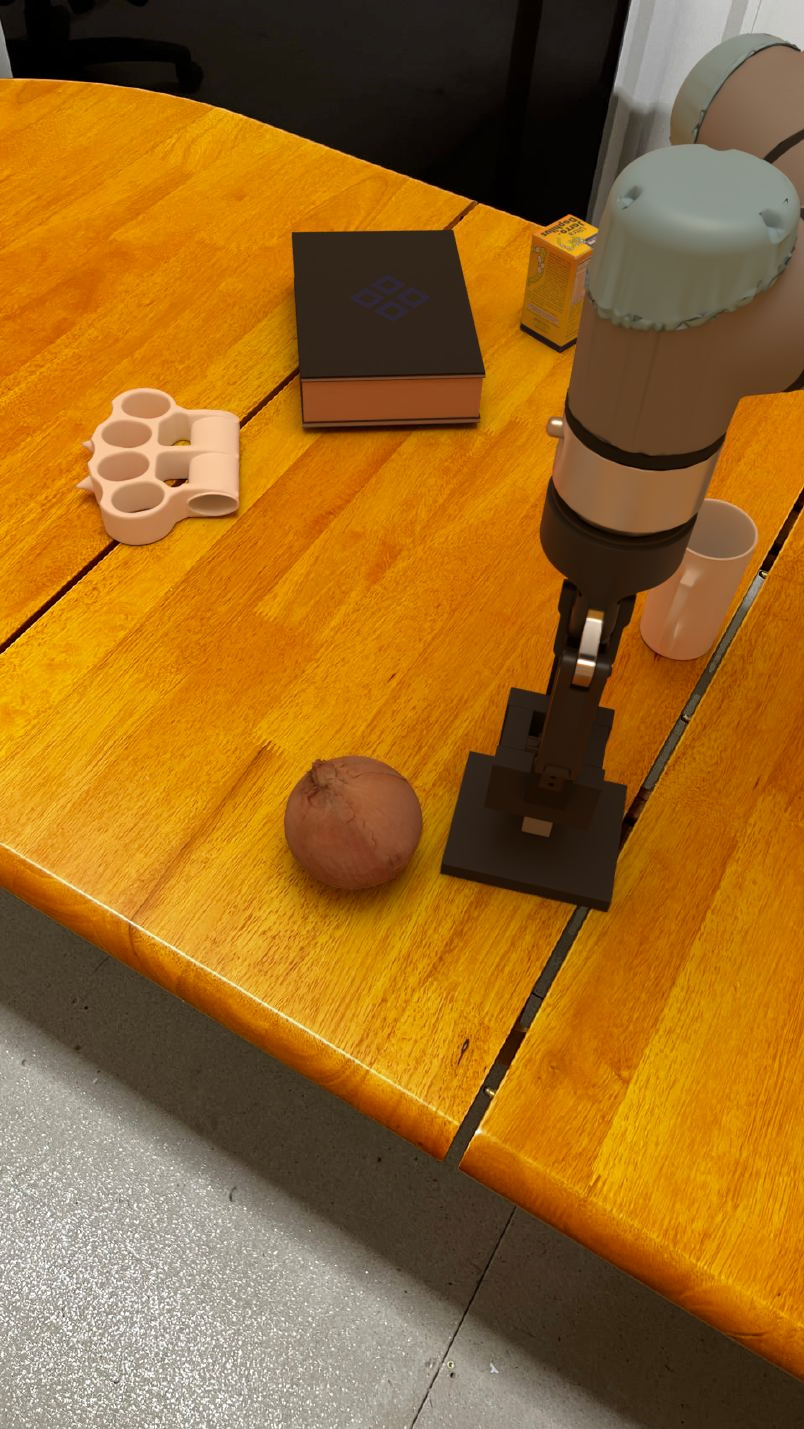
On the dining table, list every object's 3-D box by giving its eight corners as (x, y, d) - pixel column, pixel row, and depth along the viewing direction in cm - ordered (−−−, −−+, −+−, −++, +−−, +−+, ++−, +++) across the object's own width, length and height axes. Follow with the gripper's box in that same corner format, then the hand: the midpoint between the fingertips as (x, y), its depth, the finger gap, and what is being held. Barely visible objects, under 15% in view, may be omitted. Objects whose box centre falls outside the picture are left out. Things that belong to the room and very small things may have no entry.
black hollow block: (600, 753, 76) (615, 709, 72) (587, 831, 72) (602, 789, 68) (501, 730, 77) (511, 685, 73) (483, 807, 73) (492, 764, 69)
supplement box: (553, 308, 121) (569, 212, 112) (595, 332, 119) (614, 236, 110) (517, 329, 119) (530, 232, 110) (559, 354, 116) (577, 257, 107)
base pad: (623, 796, 83) (643, 741, 77) (607, 912, 77) (627, 862, 71) (467, 761, 84) (476, 706, 78) (439, 873, 78) (446, 822, 72)
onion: (303, 864, 81) (240, 775, 75) (408, 794, 83) (354, 700, 76) (352, 945, 74) (286, 854, 68) (466, 866, 75) (412, 769, 69)
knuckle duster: (240, 543, 97) (71, 548, 96) (240, 414, 108) (89, 417, 107) (237, 514, 95) (63, 519, 93) (238, 385, 105) (82, 388, 104)
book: (302, 435, 106) (299, 376, 101) (293, 288, 121) (291, 231, 116) (479, 429, 108) (486, 372, 103) (449, 286, 123) (453, 229, 118)
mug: (653, 592, 96) (687, 487, 86) (727, 622, 94) (769, 517, 84) (609, 669, 90) (640, 566, 81) (686, 702, 88) (727, 600, 79)
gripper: (577, 361, 60) (522, 637, 79) (516, 615, 49) (468, 869, 67) (714, 385, 60) (626, 659, 78) (684, 650, 48) (589, 898, 66)
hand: (553, 756), depth 72 cm, fingers closed on black hollow block, 7 cm apart
